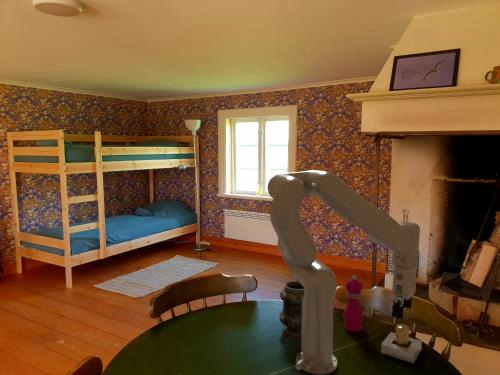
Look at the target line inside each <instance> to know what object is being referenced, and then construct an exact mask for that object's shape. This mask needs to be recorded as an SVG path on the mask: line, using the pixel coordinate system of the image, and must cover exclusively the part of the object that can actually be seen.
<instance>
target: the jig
mask: <svg viewBox="0 0 500 375" xmlns="http://www.w3.org/2000/svg"><path fill="white" fill-rule="evenodd" d="M395 334H396V332H392V331H391V332H390V333H389V334H388V335H387V336H386V337H385V339H384V340H383V341H382V342H381V344H380V346H381V347H380V353H381V354H383V355H387V356H390V357H393V358H396V359H399V360H401V361H405V362H408V363H411V364H415V362H416V360H417V358H418V356H419V355H420V352H422V346H423V345H422V344H423V341H422V340H419V339H416V338H413V337H410V336H409V340H408V348H405V347H401V346H398V345H395Z"/></svg>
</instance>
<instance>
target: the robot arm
mask: <svg viewBox="0 0 500 375" xmlns="http://www.w3.org/2000/svg"><path fill="white" fill-rule="evenodd" d="M267 192H268V194H269V196H270V197H271V198H272V201H271V205H270V212H269V218H270V223H271V225H272V228H273V230H274V232H275V234H276V236H277V248H278V251H279V253H280V256H281V257H282V258H283V260H284V262H285V264H286V266H287V267H288V269H289V271H290V272H291V275H292V276H293V277H294V279H295V281H298V282H299V283H300V284H301V285H302V286H303V287H304V297H303V301H302V330H301V339H300V340H301V341H300V343H301V345H300V347H301V350H300V351H299V352H298V353H297V354H296V358H295V364H294V365H295V366H294V367H295V369H296V370H297V371H301V370H302V371H304V372H306V373H308V374H312V375H327V374H331V373H333V372H335V370H336V369H337V368H338V359H337V357H336V356H335V355H334V354H333V343H334V342H333V341H334V340H333V339H334V338H333V337H334V335H333V334H334V303H335V296H336V292H337V287H338V286H337V282H338V281H337V277H336V275H335V273H334V271H333V270H332V269H331V268H330V266H327V265H326V264H325V263H323V262H322V261H320V260H319V259H318V258H317V256H318V249H317V246H316V243H315V240H313V238H312V236H311V235H310V233H309V231H308V230H307V227H306V226H305V223H304V222H303V220H302V217H301V215H300V210H301V209H300V208H301V205H302V202H303V200H304V198H310V197H312V198H313V197H314V198H317V199H318V200H320V201H321V202H322V203H324V204H325V205H326V206H328V208H330V209H331V210H333V212H335V213H336V214H337V215H338V216H340V217H341V218H342V219H344V220H345V221H347V222H348V223H350V224H351V225H354V226H356V227H358V228H360V229H362V230H364V231H366V232H367V237H368V238H369V240H370V241H371V242H373V244H376V245H379V246H381V247H383V248H385V249H387V250H390V251H392V260H391V261H392V262H391V264H392V265H393V266H394V269H393V270H394V271H393V278H392V291H391V292H392V296H393V297H392V305H391V306H392V309H391V310H392V312H391V316H392V317H394V318H397V319H400V320H403V318H404V308H405V309H407V310H408V309H409V310H410V309H412V300H413V296H414V294H415V293H416V283H417V282H416V281H417V279H416V278H417V276H416V275H417V274H416V273H417V271H416V269H418V264H419V249H420V234H421V228H420V226H419V224H417V223H415V222H412V221H411V222H409V221H399V222H398V221H397V220H395V219H394V218H393V217H391V215H389V214H387V213H386V212H385V211H383V210H381V209H380V208H378V207H377V206H376V205H374V204H373V203H371V202H370V201H368V200H367V199H365V198H364V197H363V196H361V195H360V194H359V193H357V191H355V190H354V189H352V188H351V186H349V184H347V183H345V182H344V181H343V180H342V179H341V178H339V177H338V176H337V175H336V174H334V173H332V172H331V171H327V170H319V169H318V170H317V169H311V170H305V171H295V172H285V173H278V174H275V175H274V176H272V177H271V178H270V179H269V181H268V182H267Z"/></svg>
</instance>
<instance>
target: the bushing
mask: <svg viewBox="0 0 500 375" xmlns="http://www.w3.org/2000/svg"><path fill="white" fill-rule="evenodd" d="M395 333H396V334H395V345H398V346H401V347H405V348H408V340H409V337H410V326H408V325H406V324H402V323H400V324H399V323H397V324H396V325H395Z"/></svg>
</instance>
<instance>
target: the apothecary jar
mask: <svg viewBox="0 0 500 375" xmlns="http://www.w3.org/2000/svg"><path fill="white" fill-rule="evenodd" d="M279 296H280V299H281V300H282V301H283V302H282V303H283V307H282V310H281V311H280V313H279V321H280V323H282V325H283V326H284V327H283V328H282V331H281V332H282V334H283V336H284V337H287V338H289V339H293V340H301V330H302V301H303V297H304V287H303V286H302V285H301V284H300V283H299V282H298V281H297V280H290V281H287V282H285V284H284V288H283V289H281V291H280V292H279Z"/></svg>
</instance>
